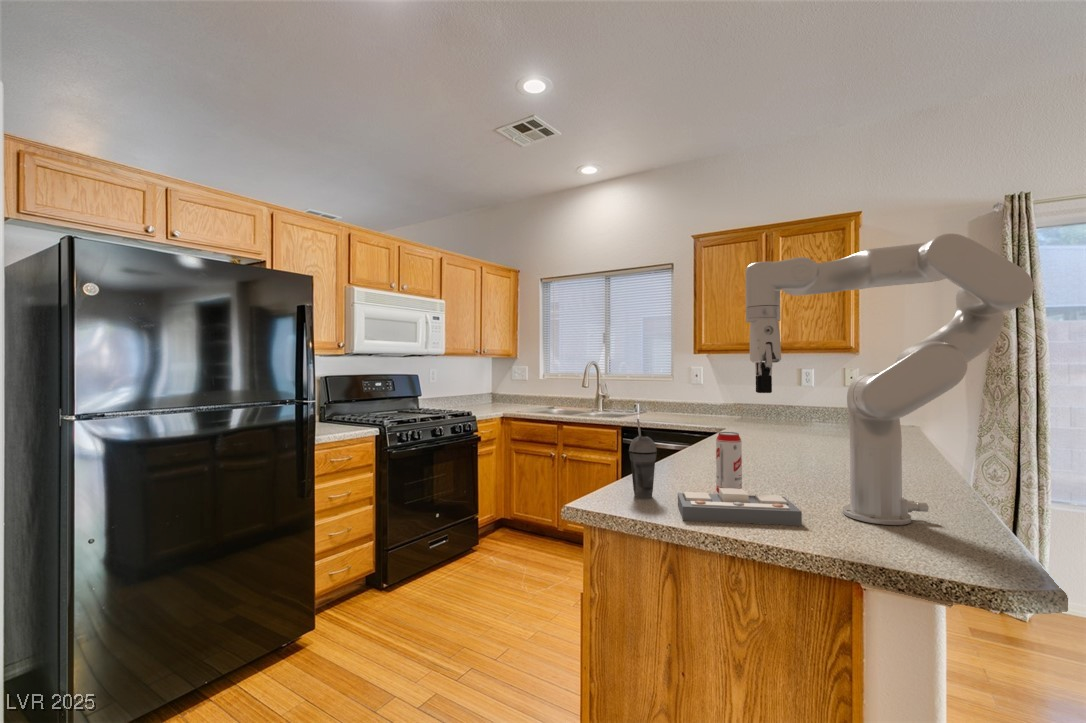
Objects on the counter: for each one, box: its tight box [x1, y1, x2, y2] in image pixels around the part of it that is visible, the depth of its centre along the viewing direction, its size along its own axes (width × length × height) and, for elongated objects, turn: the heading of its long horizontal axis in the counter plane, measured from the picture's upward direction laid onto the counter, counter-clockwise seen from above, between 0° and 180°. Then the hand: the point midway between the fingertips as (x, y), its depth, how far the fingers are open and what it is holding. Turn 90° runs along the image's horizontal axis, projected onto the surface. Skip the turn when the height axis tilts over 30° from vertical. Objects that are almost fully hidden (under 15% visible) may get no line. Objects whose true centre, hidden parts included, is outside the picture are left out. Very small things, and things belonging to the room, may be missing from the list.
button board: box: [677, 492, 803, 527], centre depth 112 cm, size 24×12×4 cm, turn 80°
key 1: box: [683, 491, 711, 502], centre depth 116 cm, size 5×5×3 cm
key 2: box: [754, 494, 787, 505], centre depth 113 cm, size 5×5×3 cm
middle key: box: [718, 488, 750, 503], centre depth 114 cm, size 5×5×3 cm
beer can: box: [715, 431, 743, 494], centre depth 130 cm, size 6×6×16 cm
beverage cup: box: [628, 418, 658, 500], centre depth 128 cm, size 7×7×20 cm
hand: (763, 392), depth 118 cm, fingers closed
